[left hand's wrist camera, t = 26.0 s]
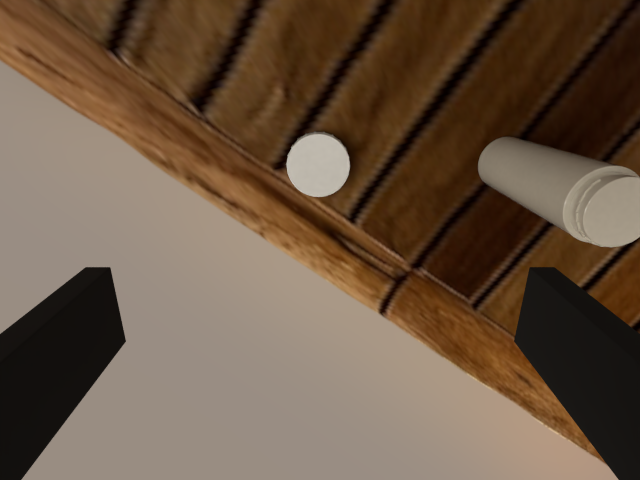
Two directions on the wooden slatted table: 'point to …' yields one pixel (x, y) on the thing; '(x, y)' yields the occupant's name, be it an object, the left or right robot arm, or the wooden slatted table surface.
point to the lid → (318, 164)
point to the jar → (566, 189)
